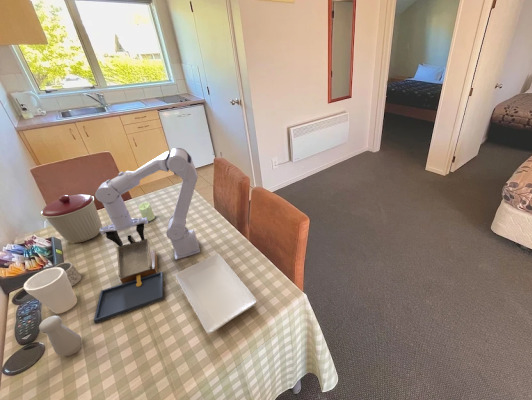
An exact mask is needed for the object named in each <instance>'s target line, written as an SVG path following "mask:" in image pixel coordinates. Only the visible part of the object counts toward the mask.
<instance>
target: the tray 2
mask: <svg viewBox="0 0 532 400" xmlns="http://www.w3.org/2000/svg"><path fill="white" fill-rule="evenodd" d="M174 278H175V279H176V281H177V282H178V284H179V286H180V288H181V290H182V292H183V293H184V295H185V297H186V299H187V301H188V302H189V304H190V306H191V307H192V310H193V311H194V313H195V314H196V317H197V319H198V320H199V322H200V324H201V326H202V328H203V329H204V332H205V333H207V334H208V335H210V334H213V333H214V332H216V331H218V330H219V329H220V328H221V327H223V326H224V325H226V324H227V323H229V322H230V321H232V320H234V319H235V318H236V317H238V316H239V315H241V314H243V313H244V312H246V311H248V310H250V309H251V308H252V307H254V306H255V305H257V303H258V300H257V298H256V297H255V295H254V294H253V292H251V291H250V289H249V288H248V287H247V285H246V284H245V283H244V282H243V280H242V279H241V278H240V277H239V275H238V274H237V273H236V272H235V271H234V269H232V267H231V266H230V265H229V264H228V262H226V260H225V259H224V257H223V256H222V255H221V254H220V253H219V252H218V253H214V254H212V255H210V256H208V257H206V258H205V259H203V260H200V261H198V262H196V263H194V264H192V265H190V266H188V267H186V268H184V269H182V270H180V271H178V272H176V273H175V274H174Z"/></svg>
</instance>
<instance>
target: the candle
mask: <svg viewBox="0 0 532 400" xmlns="http://www.w3.org/2000/svg"><path fill="white" fill-rule="evenodd" d="M138 210H139V212H140V215H141V218H145V217H146V218H147V220H148V222H151V221H153V220H154V219H155V218H156V216H155V214H154V210H153V208H152V205H151V204H150V202H148V201H145V202H142V203H141V204H140V205H139V206H138Z"/></svg>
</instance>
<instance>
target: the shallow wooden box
mask: <svg viewBox="0 0 532 400" xmlns="http://www.w3.org/2000/svg"><path fill="white" fill-rule="evenodd" d="M150 251H151V259H152V266H153V269H151V270H148V271H145V272H141V273H138V274H135V275H132V276H128V277H125V278H122V279H121V278H120V277H119V281H120V282H121V284H124V283H127V282H130V281H133V280H136V279H137V278H136V276H138V275H141V278H143V277H146V276H149V275H152V274H155V273H158V253H157V251H156V249H153V250H150Z"/></svg>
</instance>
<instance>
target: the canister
mask: <svg viewBox="0 0 532 400" xmlns="http://www.w3.org/2000/svg"><path fill="white" fill-rule="evenodd" d="M39 215H40V216H41V217H42V218H44V219H46V220H47V222H48V223H49V224H50V225H51V226H52V227H53V228H54V229H55V231H56V232H57V233H58V234H59V235H60V236H61V237H62V238H63V239H64V240H65V241H67V242H69V243H73V244H77V243H83V242H87V241H90V240H92V239H94V238H95V237H97V236H98V235H99V234H101V233H100V228H102V227H103V224H102V221H101V218H100V215H99V212H98V210H97V207H96V203H95V197H94V196H93V195H91V194H73V195H68V194H63V195H60V196H59V197H58V199H55V200H54V201H51V202H50V203H48V204H46V205H45V206H44V207H43V208H42V209H41V211H40V212H39Z"/></svg>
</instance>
